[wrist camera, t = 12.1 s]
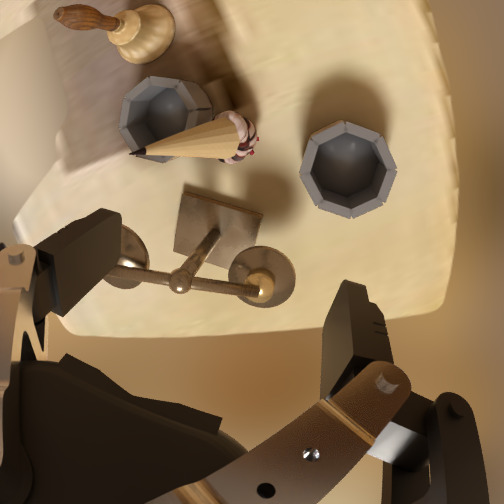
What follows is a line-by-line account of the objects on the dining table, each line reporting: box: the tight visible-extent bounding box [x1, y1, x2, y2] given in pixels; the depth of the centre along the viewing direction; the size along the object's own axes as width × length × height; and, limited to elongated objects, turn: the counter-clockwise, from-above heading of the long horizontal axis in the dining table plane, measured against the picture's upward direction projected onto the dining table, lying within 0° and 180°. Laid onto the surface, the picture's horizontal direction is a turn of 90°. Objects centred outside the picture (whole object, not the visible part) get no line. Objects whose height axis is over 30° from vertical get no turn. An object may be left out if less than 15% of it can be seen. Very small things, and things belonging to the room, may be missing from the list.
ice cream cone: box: [129, 111, 259, 164], centre depth 29 cm, size 6×6×15 cm
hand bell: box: [53, 4, 175, 64], centre depth 23 cm, size 8×8×16 cm
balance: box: [103, 192, 296, 308], centre depth 34 cm, size 8×21×15 cm, turn 76°
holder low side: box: [299, 120, 397, 219], centre depth 31 cm, size 9×9×6 cm
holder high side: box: [119, 76, 213, 163], centre depth 32 cm, size 9×9×6 cm
